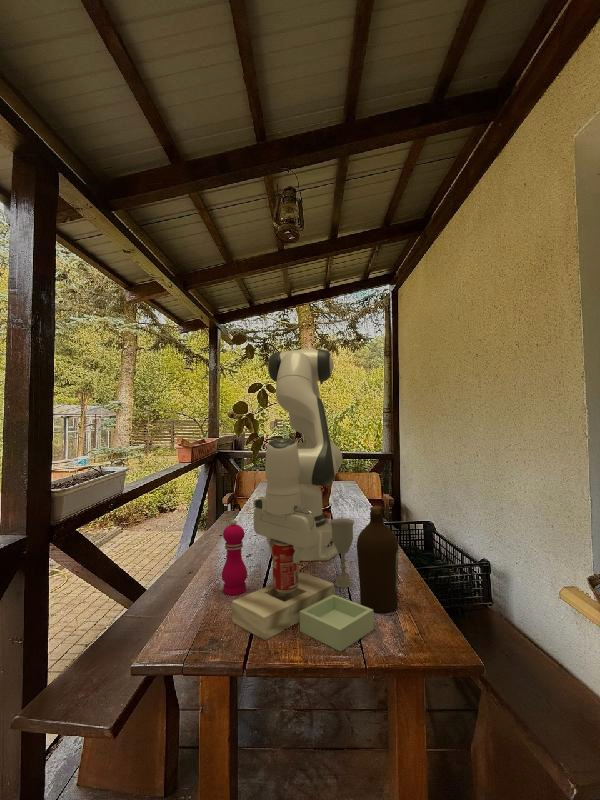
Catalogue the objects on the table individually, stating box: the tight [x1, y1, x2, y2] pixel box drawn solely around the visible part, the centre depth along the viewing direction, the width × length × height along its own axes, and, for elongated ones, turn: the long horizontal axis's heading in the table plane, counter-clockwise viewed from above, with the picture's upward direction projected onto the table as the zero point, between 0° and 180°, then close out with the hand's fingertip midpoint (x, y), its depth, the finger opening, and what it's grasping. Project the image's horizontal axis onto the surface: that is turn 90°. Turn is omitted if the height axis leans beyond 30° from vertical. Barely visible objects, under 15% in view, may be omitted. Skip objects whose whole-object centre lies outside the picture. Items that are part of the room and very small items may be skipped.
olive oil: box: [356, 505, 399, 614], centre depth 109 cm, size 11×11×25 cm
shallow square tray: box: [299, 594, 375, 652], centre depth 97 cm, size 12×12×4 cm
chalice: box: [329, 517, 355, 589], centre depth 122 cm, size 7×7×18 cm
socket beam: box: [231, 572, 336, 641], centre depth 106 cm, size 24×12×5 cm, turn 135°
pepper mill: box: [221, 519, 248, 596], centre depth 119 cm, size 7×7×20 cm
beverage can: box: [271, 540, 299, 593], centre depth 106 cm, size 6×6×12 cm
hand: (284, 558), depth 106 cm, fingers closed on beverage can, 6 cm apart
